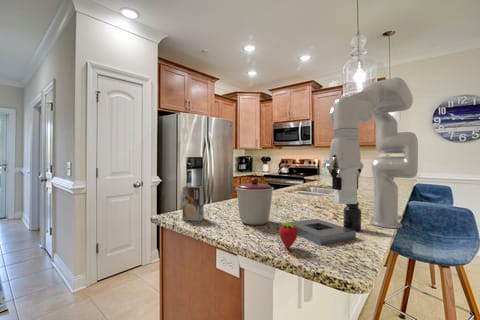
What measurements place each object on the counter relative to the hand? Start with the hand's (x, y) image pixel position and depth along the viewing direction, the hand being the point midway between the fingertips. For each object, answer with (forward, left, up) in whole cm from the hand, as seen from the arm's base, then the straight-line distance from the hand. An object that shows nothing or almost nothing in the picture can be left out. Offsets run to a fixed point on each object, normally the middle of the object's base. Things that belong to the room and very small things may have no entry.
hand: (345, 188), depth 77 cm
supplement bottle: (-22, -15, -20) cm, 33 cm away
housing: (-4, -16, -20) cm, 26 cm away
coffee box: (+36, -59, -20) cm, 72 cm away
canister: (+11, -42, -20) cm, 48 cm away
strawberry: (+17, -8, -20) cm, 28 cm away
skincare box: (0, 0, -5) cm, 5 cm away
